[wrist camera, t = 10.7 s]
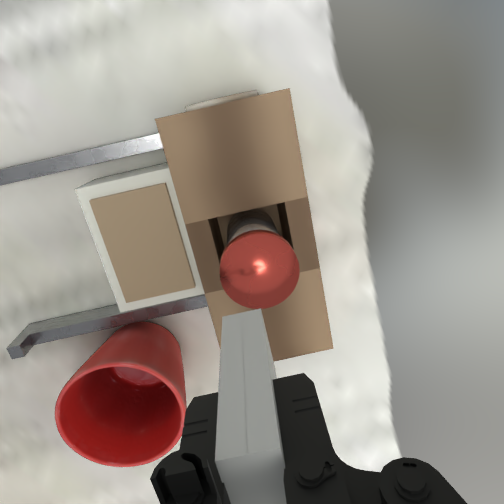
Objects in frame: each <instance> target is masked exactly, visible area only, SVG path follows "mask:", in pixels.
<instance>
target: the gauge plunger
mask: <svg viewBox="0 0 504 504" xmlns="http://www.w3.org/2000/svg"><path fill="white" fill-rule="evenodd" d="M299 272H300V269H299V262H298V259H297V257H296V254H295V252H294V250H293V248H292V247H291V245H290V244H289V243H288V241H287V240H285V239H284V238H283V237H282V236H280V235H279V233H278V231H277V229H276V226H275V224H274V222H273V220H272V218H271V217H270V216H269V215H268V214H267V213H266V212H264V211H262V210H260V209H257V208H256V209H251V210H247V211H242V212H238V213H236V214H235V215H234V216H233V217H232V218H231V220H230V221H229V224H228V227H227V246H226V248H225V249H224V251H223V254H222V256H221V260H220V281H221V284H222V287H223V289H224V291H225V292H226V294H227V295H228V296H229V297H230V298H231V299H232V300H233V301H234V302H236V303H238V304H239V305H242V306H244V307H247V308H252V309H260V308H261V309H265V308H270V307H273V306H275V305H278V304H279V303H281V302H283V301H284V300H285V299H287V298H288V297H289V296H290V294H291V293H292V292H293V291H294V289H295V287H296V285H297V283H298V279H299Z"/></svg>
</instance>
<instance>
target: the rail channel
mask: <svg viewBox="0 0 504 504" xmlns="http://www.w3.org/2000/svg"><path fill="white" fill-rule="evenodd" d="M161 148H163V146H162V142H161V139H160V135H159V133H157V134H153V135H148V136H144V137H139V138H135V139H131V140H126V141H122V142H118V143H113V144H109V145H105V146H100V147H96V148H92V149H87V150H83V151H78V152H74V153H70V154H65V155H61V156H57V157H52V158H48V159H44V160H39V161H35V162H31V163H26V164H22V165H17V166H13V167H9V168H4V169H0V185H4V184H9V183H13V182H17V181H22V180H26V179H30V178H35V177H39V176H44V175H48V174H52V173H57V172H61V171H65V170H70V169H74V168H78V167H83V166H87V165H92V164H96V163H100V162H105V161H109V160H113V159H118V158H122V157H127V156H131V155H135V154H140V153H144V152H148V151H153V150H157V149H161ZM207 306H208V304H207V300H206V297H205V294H201V295H197V296H192V297H188V298H183V299H179V300H174V301H170V302H165V303H161V304H156V305H152V306H147V307H143V308H139V309H134V310H130V311H125V312H121V313H120V310H119V308H118V305H117V304H116V305H111V306H107V307H102V308H98V309H93V310H89V311H84V312H80V313H76V314H71V315H67V316H62V317H58V318H53V319H49V320H44V321H40V322H35V323H31V324H29V325H28V326H27V327H26V328H25V329H24V330H23V331H22V332H21V333H20V334H19V335H18V336H17V338H16V339H15V340H14V341H13V342H12V343H11V344H10V345H9V346H8V347H7V350H8V352H9V354H10V356H11V358H12V359H15V358H20V357H24V356H25V355H26V354H27V353H28V352H29V350H30V349H31V348H32V347H33V346H34V345H36V344H40V343H45V342H49V341H54V340H58V339H63V338H67V337H72V336H76V335H81V334H85V333H90V332H94V331H99V330H103V329H108V328H112V327H117V326H121V325H126V324H130V323H135V322H139V321H144V320H148V319H153V318H157V317H162V316H166V315H171V314H175V313H180V312H184V311H189V310H193V309H198V308H202V307H207Z"/></svg>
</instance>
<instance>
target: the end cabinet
mask: <svg viewBox="0 0 504 504" xmlns="http://www.w3.org/2000/svg"><path fill="white" fill-rule="evenodd" d="M185 109H186V112H184V113H179V114H175V115H171V116H166V117H162V118H158V119H155V121H156V125H157V128H158V132H159V135H160V139H161V142H162V146H163V149H164V153H165V156H166V160H167V163H168V167H169V170H170V174H171V177H172V181H173V184H174V188H175V191H176V195H177V199H178V202H179V206H180V209H181V213H182V216H183V220H184V223H185V227H186V230H187V234H188V237H189V241H190V244H191V248H192V251H193V255H194V258H195V262H196V265H197V269H198V272H199V276H200V279H201V283H202V286H203V290H204V293H205V297H206V300H207V304H208V307H209V311H210V314H211V318H212V321H213V325H214V328H215V332H216V335H217V339H218V342H219V346H220V349H221V334H222V317H224V316H228V315H233V314H237V313H242V312H247V311H251V310H256V309H252V308H247V307H244V306H242V305H239V304H238V303H236V302H234V301H233V300H232V299H231V298H230V297H229V296H228V295H227V294H226V292H225V291H224V289H223V287H222V284H221V281H220V260H221V256H222V254H223V251H224V249H225V248H226V246H227V227H228V224H229V221H230V220H231V218H232V217H233V216H234V215H235V214H236V213H238V212H242V211H247V210H251V209H256V208H257V209H260V210H262V211H264V212H266V213H267V214H268V215H269V216H270V217H271V218H272V220H273V222H274V224H275V226H276V229H277V231H278V233H279V235H280V236H282V237H283V238H284V239H285V240H287V241H288V243H289V244H290V245H291V247H292V248H293V250H294V252H295V254H296V257H297V259H298V262H299V269H300V272H299V279H298V283H297V285H296V287H295V289H294V291H293V292H292V293H291V294H290V296H289V297H288V298H287V299H285V300H284V301H283V302H281V303H279V304H278V305H275V306H273V307H270V308H265V309H261V311H262V315H263V320H264V324H265V328H266V332H267V337H268V341H269V345H270V349H271V353H272V358H273V362H274V361H278V360H283V359H287V358H292V357H296V356H301V355H305V354H310V353H315V352H319V351H324V350H328V349H333V343H332V337H331V331H330V325H329V319H328V313H327V307H326V302H325V296H324V290H323V284H322V278H321V272H320V266H319V260H318V254H317V248H316V242H315V236H314V230H313V225H312V219H311V213H310V207H309V201H308V195H307V189H306V183H305V177H304V171H303V165H302V159H301V153H300V148H299V142H298V136H297V130H296V124H295V118H294V112H293V106H292V100H291V94H290V88H288V89H284V90H279V91H275V92H271V93H266V94H262V95H258V90H255V91H249V92H244V93H239V94H234V95H229V96H225V97H220V98H216V99H212V100H208V101H204V102H200V103H196V104H192V105H189V106H186V107H185Z"/></svg>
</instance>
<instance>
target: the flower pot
mask: <svg viewBox="0 0 504 504" xmlns="http://www.w3.org/2000/svg"><path fill="white" fill-rule="evenodd" d="M186 409H187V408H186V392H185V381H184V371H183V364H182V357H181V350H180V346H179V344H178V342H177V340H176V339H175V337H174V336H173V335H172V334H171V333H170V332H169V331H168V330H167V329H165V328H164V327H162V326H160V325H157V324H154V323H150V322H135V323H130V324H127V325H125V326H123V327H121V328H120V329H118V330H117V331H116V332H115V333H114V334H113V335H112V336H111V337H110V338H109V339H108V340H107V341H106V342H105V343H104V344H103V345H102V346H101V347H100V348H99V349H98V350H97V351H96V352H95V353H94V354H93V355H92V356H91V357H90V358H89V359H88V360H87V361H86V362H85V363H84V364H83V365H82V366H81V367H80V368H79V369H78V371H77V372H76V373H75V374H74V375H73V376H72V377H71V378H70V380H69V381H68V382H67V383H66V384H65V386H64V387H63V389H62V390H61V392H60V394H59V396H58V399H57V402H56V406H55V420H56V425H57V428H58V431H59V433H60V435H61V437H62V438H63V440H64V441H65V442H66V444H67V445H68V446H69V447H70V448H72V449H73V450H74V451H75V452H76V453H78V454H79V455H81V456H83V457H84V458H86V459H89V460H91V461H93V462H96V463H99V464H103V465H107V466H114V467H131V466H138V465H143V464H147V463H150V462H152V461H155V460H157V459H159V458H161V457H162V456H164V455H165V454H166V453H168V452H169V451H170V450H171V449H172V448H173V447H174V446H175V445H176V443H177V442H178V441H179V439H180V438H181V436H182V431H183V427H184V419H185V412H186Z"/></svg>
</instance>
